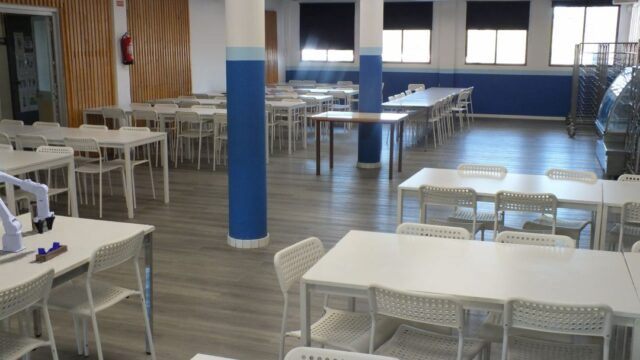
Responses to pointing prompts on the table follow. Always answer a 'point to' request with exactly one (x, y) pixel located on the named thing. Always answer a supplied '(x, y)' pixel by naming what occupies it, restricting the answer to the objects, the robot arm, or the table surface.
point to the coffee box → (34, 214)
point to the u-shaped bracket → (51, 254)
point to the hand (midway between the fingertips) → (45, 231)
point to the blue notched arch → (55, 246)
